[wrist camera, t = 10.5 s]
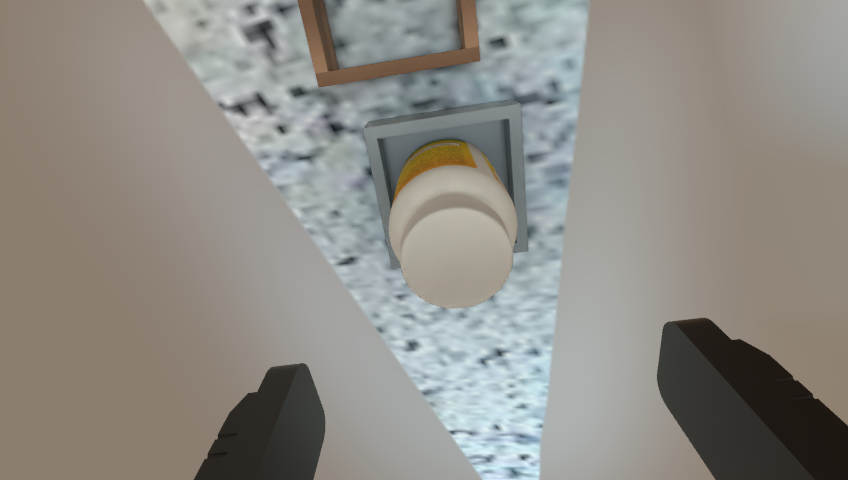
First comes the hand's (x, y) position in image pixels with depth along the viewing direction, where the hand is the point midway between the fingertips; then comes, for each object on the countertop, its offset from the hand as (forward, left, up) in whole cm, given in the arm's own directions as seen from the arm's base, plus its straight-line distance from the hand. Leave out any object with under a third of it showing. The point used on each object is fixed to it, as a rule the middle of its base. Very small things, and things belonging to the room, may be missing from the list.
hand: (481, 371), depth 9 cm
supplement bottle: (0, 0, -15) cm, 15 cm away
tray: (0, 0, -16) cm, 16 cm away
